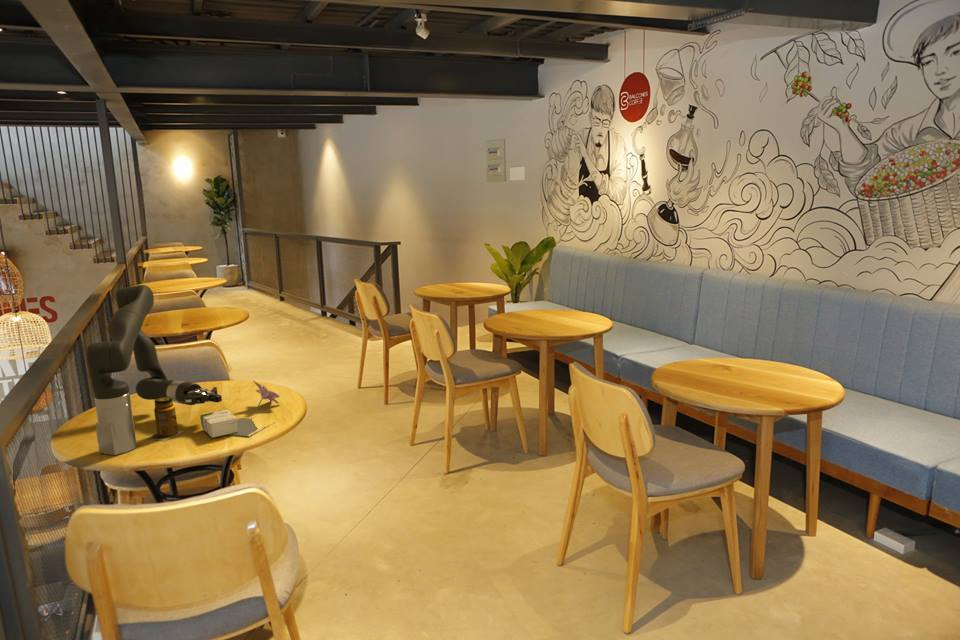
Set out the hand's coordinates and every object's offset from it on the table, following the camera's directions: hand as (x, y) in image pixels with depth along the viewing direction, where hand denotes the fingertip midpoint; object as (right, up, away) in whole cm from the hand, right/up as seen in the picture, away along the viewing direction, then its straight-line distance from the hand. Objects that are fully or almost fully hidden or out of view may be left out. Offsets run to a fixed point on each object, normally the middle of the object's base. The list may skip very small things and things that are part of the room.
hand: (219, 398), depth 214 cm
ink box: (-2, -7, +1) cm, 7 cm away
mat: (+8, -9, 0) cm, 12 cm away
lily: (+9, -6, +21) cm, 24 cm away
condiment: (-16, -11, -5) cm, 20 cm away
